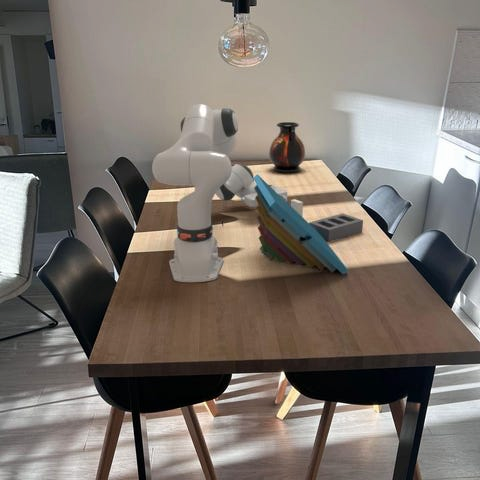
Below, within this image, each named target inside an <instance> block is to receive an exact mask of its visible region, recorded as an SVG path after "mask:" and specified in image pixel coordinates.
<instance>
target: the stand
mask: <svg viewBox="0 0 480 480" xmlns="http://www.w3.org/2000/svg"><path fill="white" fill-rule="evenodd" d="M308 223H309V224H310V225H311V226H312V227H313V228H314V229H315V230H316V231H317V232H318V233H319V234H320V235H321V236H322V237H323V238H324V240H325V241H326V242H327V243H330V242H333V241H337V240H341V239H344V238H347V237H350V236H353V235H356V234H360V233H362V232H363V226H364V220H363V219H360V218H358V217H354V216H352V215H349V214H347V213H339V214H334V215H331V216H328V217H325V218H320V219H315V220H314V221H313V220H312V221H308Z"/></svg>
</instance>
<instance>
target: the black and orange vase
mask: <svg viewBox="0 0 480 480" xmlns="http://www.w3.org/2000/svg"><path fill="white" fill-rule="evenodd" d="M299 126H300V124H299V123H297V122H291V121H290V122H289V121H288V122H287V121H284V122H278V123H277V124H276V127H278V128H279V133H278V135H277V136H276V137H275V138H274V139H273V140H272V141H271V145H270V147H269V152H268V157H269V160H270V162H271V163H272V164H273V165H274V166H273V167H272V169H273V171H274V172H276V173H279V174H295V173H298V172H300V170H301V166H300V165H301V164H302V163H303V162H304V161H305V158H306V150H305V149H306V148H305V145H304V143H303V141H302V140H301V138H300V137H299V136H298V135H297V133H296V128H297V127H299Z"/></svg>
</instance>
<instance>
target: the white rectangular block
mask: <svg viewBox="0 0 480 480" xmlns="http://www.w3.org/2000/svg"><path fill="white" fill-rule="evenodd" d="M290 206H291V207H292V208H293V209H294V210H295V211H297V212H298V213H299V214H300V215H301V216H302V217H303V212H304V211H303V210H304V209H303V208H304V201H301V200H298V199H295V198H294V199H291V200H290Z"/></svg>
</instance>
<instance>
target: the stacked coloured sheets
mask: <svg viewBox="0 0 480 480" xmlns="http://www.w3.org/2000/svg"><path fill="white" fill-rule="evenodd" d="M253 177H254V178H253V179H254V183H256V184H257V185H256V186H255V187H254V189H255V191H256V193H257V194H258V195H257V196H256V197H255V199H256V201H257V203H258V206H256V207H255V209H256V210H257V213H258V216H257V217H256V219H257V221H258V224H259V226H258V227H257V229H258V231H259V234H260V236H259V237H258V240H259V242H260V244H261V245H260V247H259V250H260V253H261V254H262V255H263V256H265V258H267V260H269V261H271V260H272V259H273V258H274V259H276V260H277V262H279V263H281V262H282V261H286V263H288V264H289V265H291V264H292V263H293V262H295V264H297V265H298V266H300V267H302V266H303V264H305V265H306V266H308V267H309V269H312V268H313V267H314V266H316V268H318V269H320V271H321V272H322V271H323V270H324V269H325V268H327V269H328V270H329V271H330V272H331V273H334V272H335V271H336V270H338V271H339V272H340V273H341V275H343V276H345V275H346V274H347V273H348V272H349V269H348V268H347V267H346V265H345V264H344V263H343V261H342V260H341V259H340V257H339V256H338V255H337V253H336V252H335V251H334V250H333V249H332V247H331V246H330V245H329V243H328V242H326V241H325V240H324V238H323V237H322V236H321V235H320V234H319V233H318V232H317V231H316V230H315V229H314V228H313V227H312V226H311V225H310V224H309V221H307V220H306V219H305V218H304V217H303V215H302V216H301V215H300V214H299V213H298V212H297V211H295V210H294V209H293V208H292V207H291V204H289V203H288V201H285V200H284V199H283V198H282V197H281V196H280V195H279V194H278V193H277V192H275V191H274V190H273V189H272V188H271V187H270V186H269V185H270V184H268V183H267V182H266V181H265V180H264V179H263V178H262V177H261V176H260V175H259V174H258V173H257V174H255V176H253Z"/></svg>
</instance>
